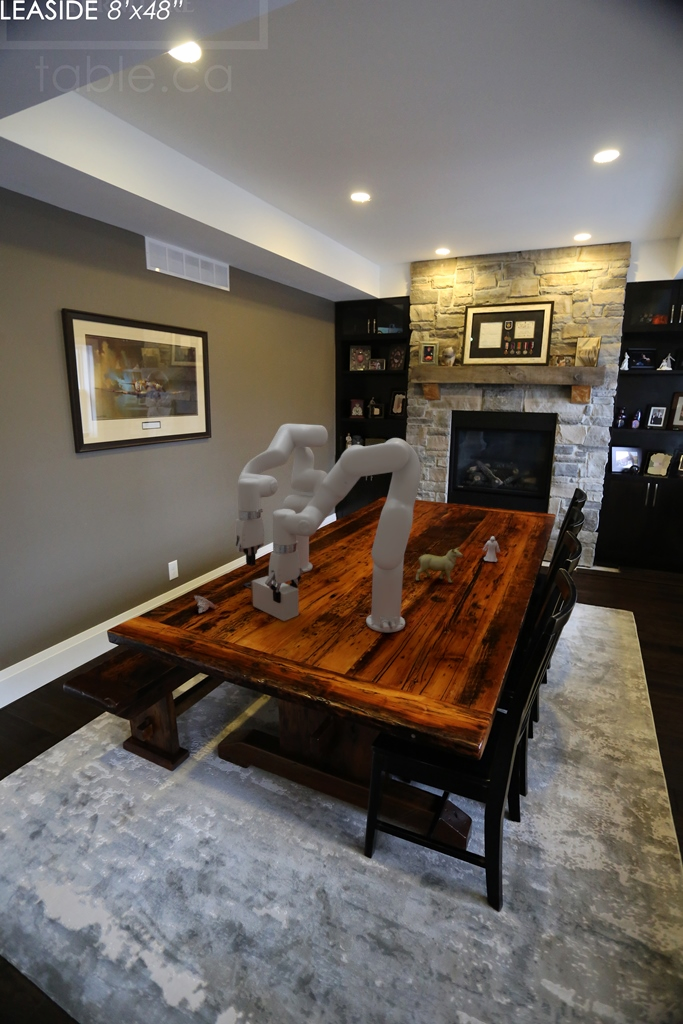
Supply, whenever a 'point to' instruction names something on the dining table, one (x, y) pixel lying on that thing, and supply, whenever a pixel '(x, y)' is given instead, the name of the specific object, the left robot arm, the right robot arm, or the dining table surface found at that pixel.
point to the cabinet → (265, 601)
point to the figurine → (491, 550)
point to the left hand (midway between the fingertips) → (250, 564)
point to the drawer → (249, 588)
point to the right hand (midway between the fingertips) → (285, 598)
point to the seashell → (203, 604)
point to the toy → (439, 563)
